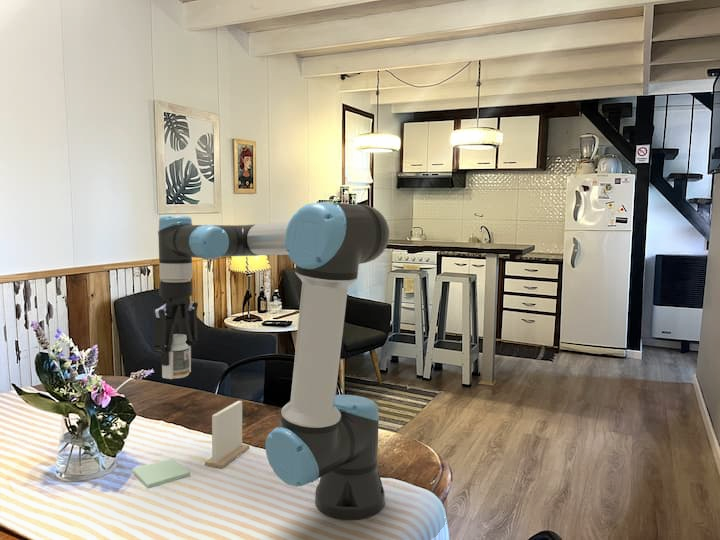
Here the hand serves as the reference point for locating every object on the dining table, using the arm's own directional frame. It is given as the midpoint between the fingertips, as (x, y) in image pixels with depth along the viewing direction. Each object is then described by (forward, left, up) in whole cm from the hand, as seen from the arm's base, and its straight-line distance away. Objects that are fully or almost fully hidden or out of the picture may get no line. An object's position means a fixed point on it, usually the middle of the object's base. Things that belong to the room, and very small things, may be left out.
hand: (176, 374), depth 136 cm
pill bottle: (0, 0, -1) cm, 1 cm away
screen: (-3, -12, -23) cm, 26 cm away
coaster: (-2, +5, -23) cm, 24 cm away
